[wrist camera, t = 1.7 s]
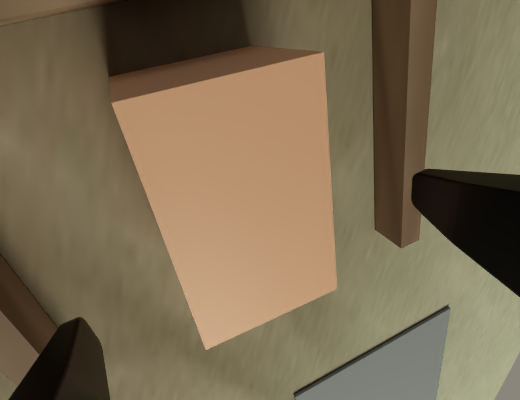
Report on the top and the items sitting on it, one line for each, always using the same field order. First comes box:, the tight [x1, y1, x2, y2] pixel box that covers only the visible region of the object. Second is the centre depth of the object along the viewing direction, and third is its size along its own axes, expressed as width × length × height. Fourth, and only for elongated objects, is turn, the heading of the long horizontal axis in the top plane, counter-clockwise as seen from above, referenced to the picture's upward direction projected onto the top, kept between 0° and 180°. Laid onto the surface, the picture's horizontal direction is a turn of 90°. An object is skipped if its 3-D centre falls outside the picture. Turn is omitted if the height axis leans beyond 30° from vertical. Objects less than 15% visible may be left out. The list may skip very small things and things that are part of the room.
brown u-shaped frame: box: [0, 0, 437, 387], centre depth 12 cm, size 18×14×2 cm
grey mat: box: [294, 307, 451, 400], centre depth 28 cm, size 14×14×1 cm
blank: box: [109, 46, 337, 350], centre depth 11 cm, size 5×8×5 cm, turn 10°
